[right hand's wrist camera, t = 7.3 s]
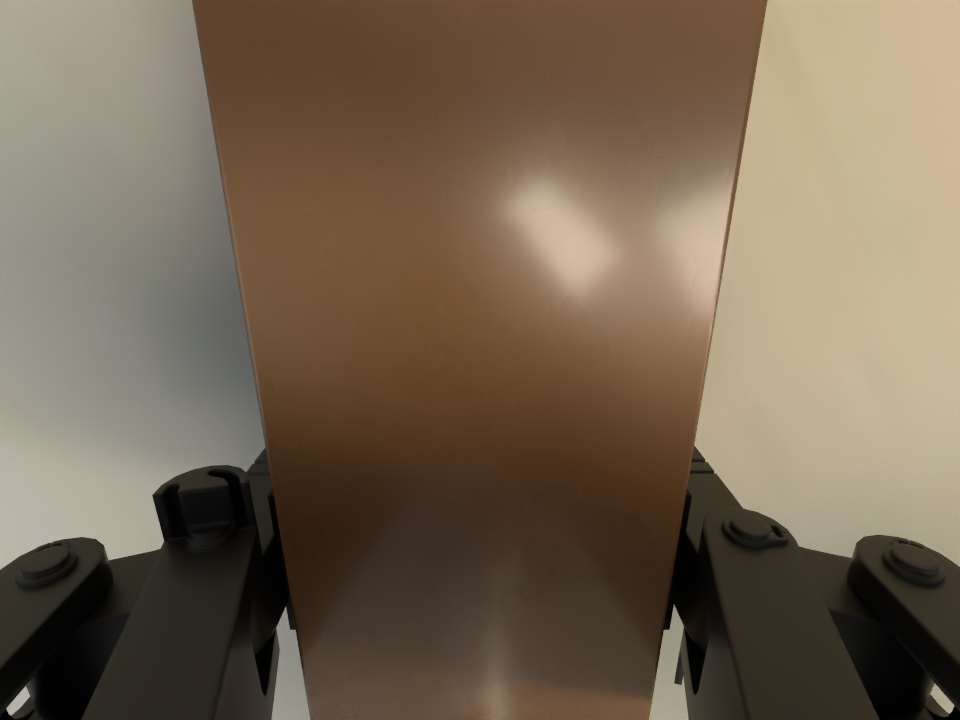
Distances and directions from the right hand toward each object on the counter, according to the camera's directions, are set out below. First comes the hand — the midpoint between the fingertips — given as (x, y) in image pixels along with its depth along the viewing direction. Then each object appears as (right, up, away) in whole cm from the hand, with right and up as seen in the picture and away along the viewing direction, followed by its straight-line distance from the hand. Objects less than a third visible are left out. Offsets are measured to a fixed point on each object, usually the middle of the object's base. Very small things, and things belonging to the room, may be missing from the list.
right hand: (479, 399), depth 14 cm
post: (0, +22, -8) cm, 23 cm away
